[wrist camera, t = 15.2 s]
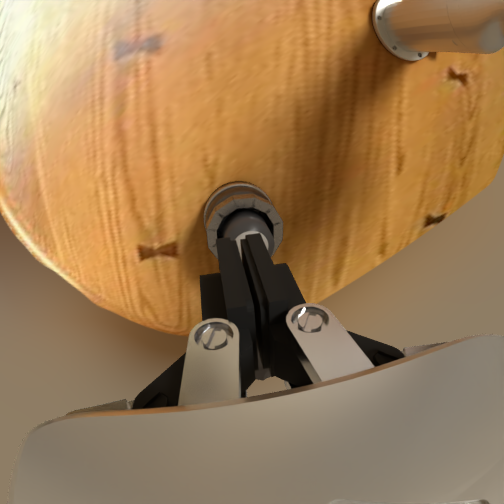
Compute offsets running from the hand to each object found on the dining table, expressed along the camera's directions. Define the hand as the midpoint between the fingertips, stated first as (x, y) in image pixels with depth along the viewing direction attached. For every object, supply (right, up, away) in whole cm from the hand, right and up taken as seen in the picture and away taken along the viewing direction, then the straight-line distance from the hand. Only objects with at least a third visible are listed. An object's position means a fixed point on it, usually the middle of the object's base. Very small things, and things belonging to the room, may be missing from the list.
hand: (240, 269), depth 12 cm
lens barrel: (-2, +7, +35) cm, 36 cm away
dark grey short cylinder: (-1, +4, +30) cm, 30 cm away
